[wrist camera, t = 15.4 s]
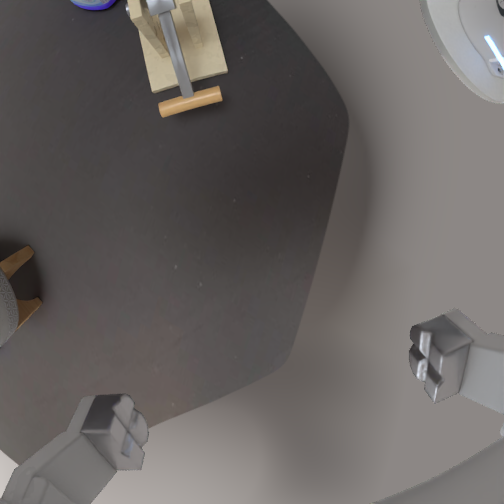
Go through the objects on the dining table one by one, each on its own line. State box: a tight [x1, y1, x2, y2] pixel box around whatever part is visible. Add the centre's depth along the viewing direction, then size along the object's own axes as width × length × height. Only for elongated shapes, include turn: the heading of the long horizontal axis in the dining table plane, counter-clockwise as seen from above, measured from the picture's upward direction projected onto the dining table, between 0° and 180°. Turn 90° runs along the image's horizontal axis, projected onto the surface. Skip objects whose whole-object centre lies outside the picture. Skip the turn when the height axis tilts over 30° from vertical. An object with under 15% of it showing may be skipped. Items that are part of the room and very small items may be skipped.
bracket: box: [125, 0, 228, 93], centre depth 24 cm, size 12×9×14 cm
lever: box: [146, 0, 222, 117], centre depth 23 cm, size 13×6×2 cm, turn 14°
